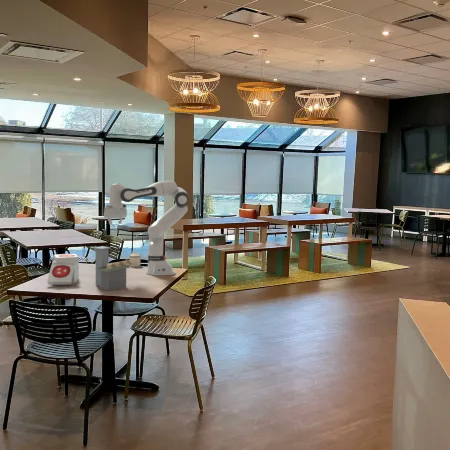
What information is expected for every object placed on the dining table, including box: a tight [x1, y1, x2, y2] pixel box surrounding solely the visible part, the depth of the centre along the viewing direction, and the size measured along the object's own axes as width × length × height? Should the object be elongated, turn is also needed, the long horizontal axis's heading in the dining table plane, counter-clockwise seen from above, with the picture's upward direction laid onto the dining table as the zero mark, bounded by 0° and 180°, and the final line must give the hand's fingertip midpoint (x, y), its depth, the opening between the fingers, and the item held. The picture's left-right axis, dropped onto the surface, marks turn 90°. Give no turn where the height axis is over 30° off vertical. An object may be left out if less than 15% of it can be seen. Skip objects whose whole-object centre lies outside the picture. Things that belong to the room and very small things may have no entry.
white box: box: [46, 253, 80, 286], centre depth 347 cm, size 19×30×18 cm, turn 5°
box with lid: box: [98, 265, 131, 292], centre depth 334 cm, size 20×9×15 cm, turn 146°
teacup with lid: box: [125, 251, 141, 268], centre depth 417 cm, size 12×9×12 cm
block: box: [107, 259, 134, 269], centre depth 338 cm, size 22×3×3 cm, turn 146°
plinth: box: [93, 245, 111, 287], centre depth 342 cm, size 8×8×26 cm
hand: (115, 224), depth 371 cm, fingers open, 8 cm apart
